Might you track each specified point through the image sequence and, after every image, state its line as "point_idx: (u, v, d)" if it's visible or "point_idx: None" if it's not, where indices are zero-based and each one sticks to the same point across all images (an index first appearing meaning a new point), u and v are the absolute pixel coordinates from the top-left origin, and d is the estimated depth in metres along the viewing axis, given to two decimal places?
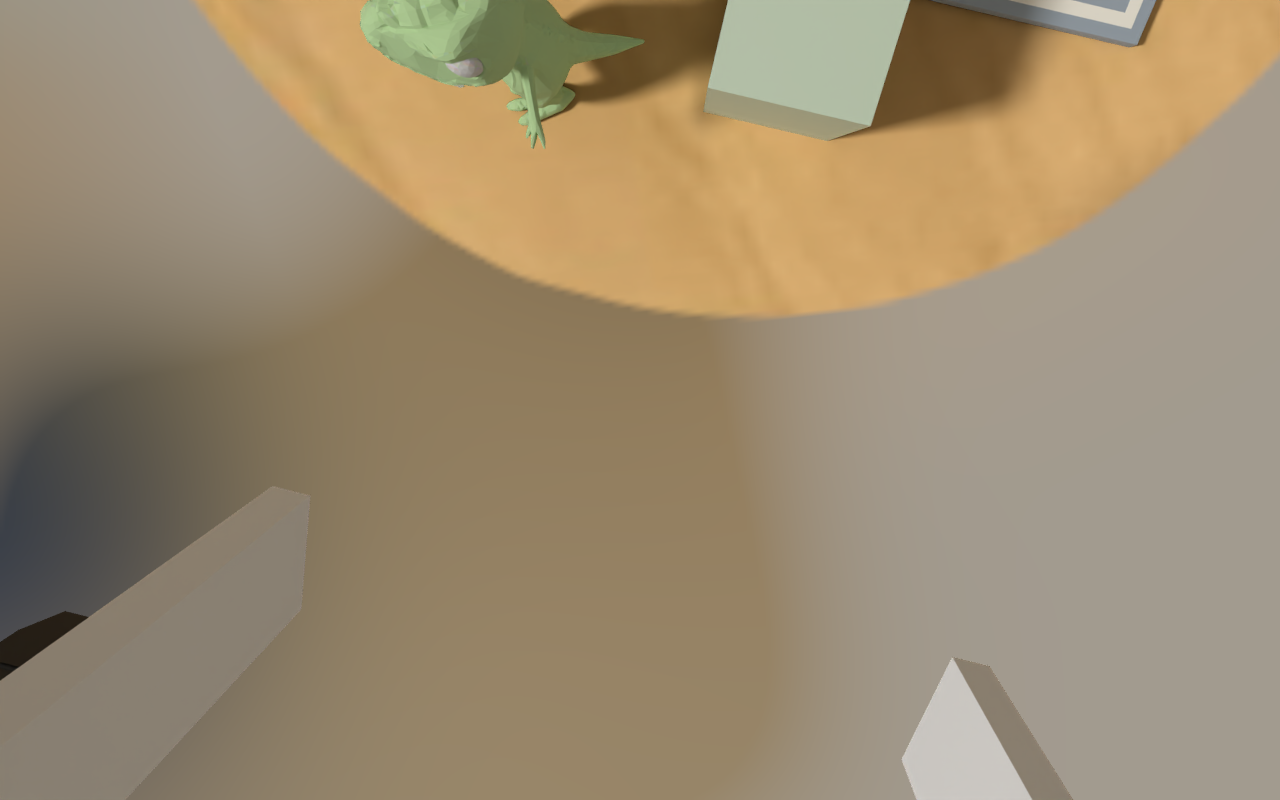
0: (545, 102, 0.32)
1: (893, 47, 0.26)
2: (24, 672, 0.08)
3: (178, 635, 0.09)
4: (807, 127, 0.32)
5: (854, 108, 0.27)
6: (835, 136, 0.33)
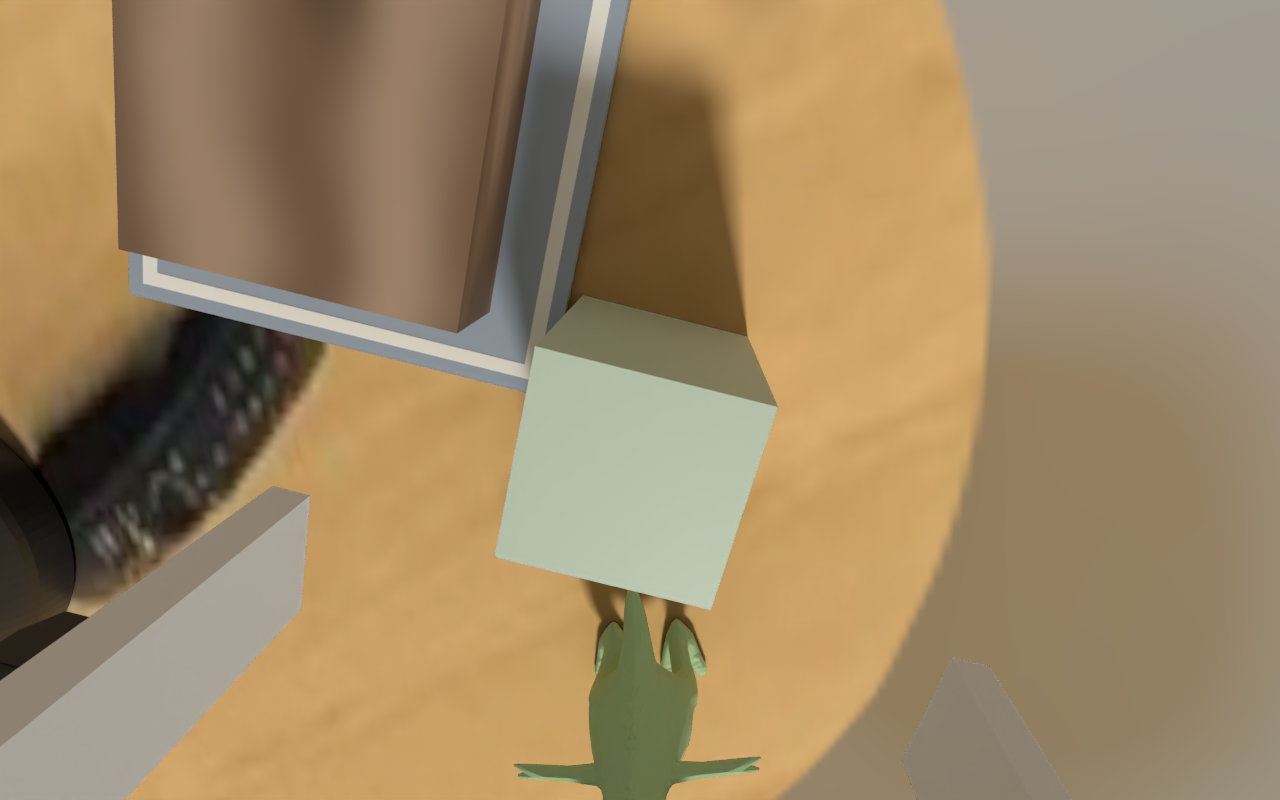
0: (695, 695, 0.27)
1: (674, 382, 0.18)
2: (24, 672, 0.08)
3: (178, 634, 0.09)
4: None
5: (751, 430, 0.18)
6: None
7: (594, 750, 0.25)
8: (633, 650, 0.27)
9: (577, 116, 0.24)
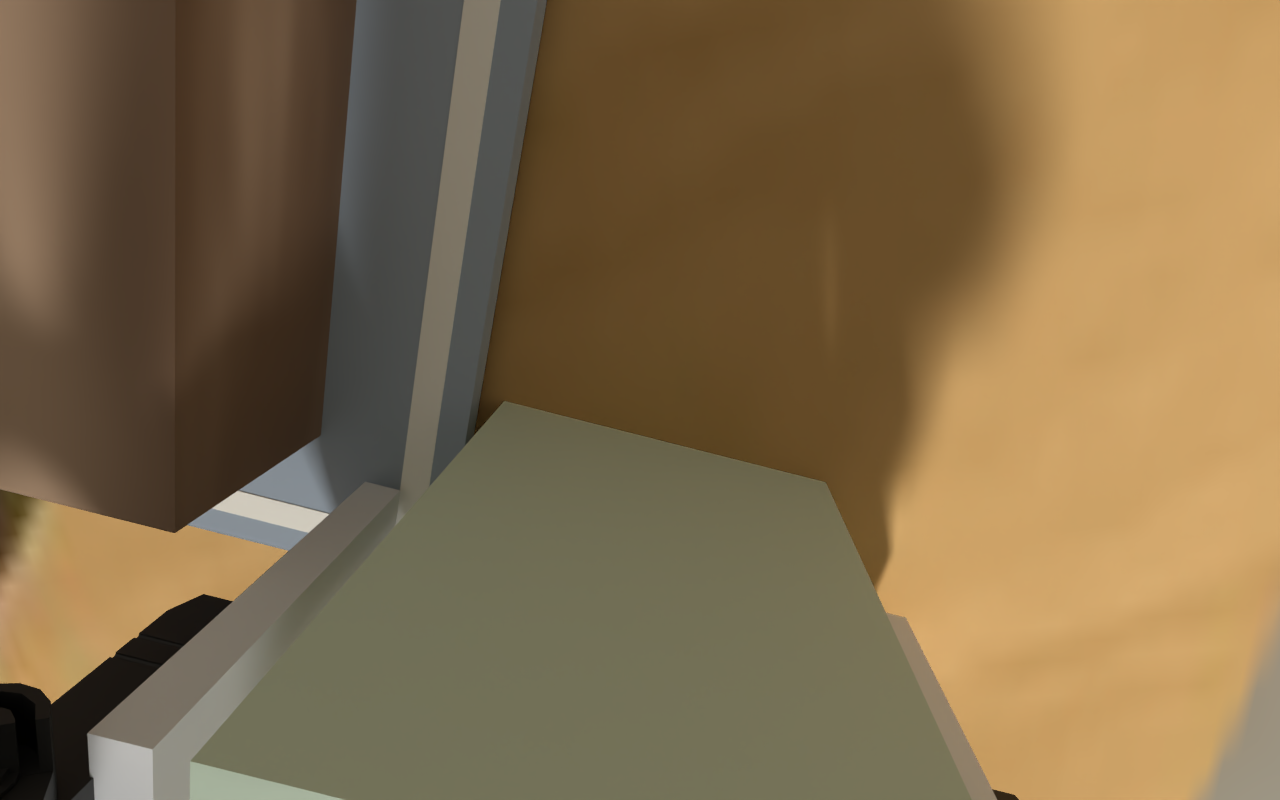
0: None
1: None
2: (194, 645, 0.09)
3: (306, 615, 0.10)
4: None
5: None
6: None
7: None
8: None
9: (472, 36, 0.11)
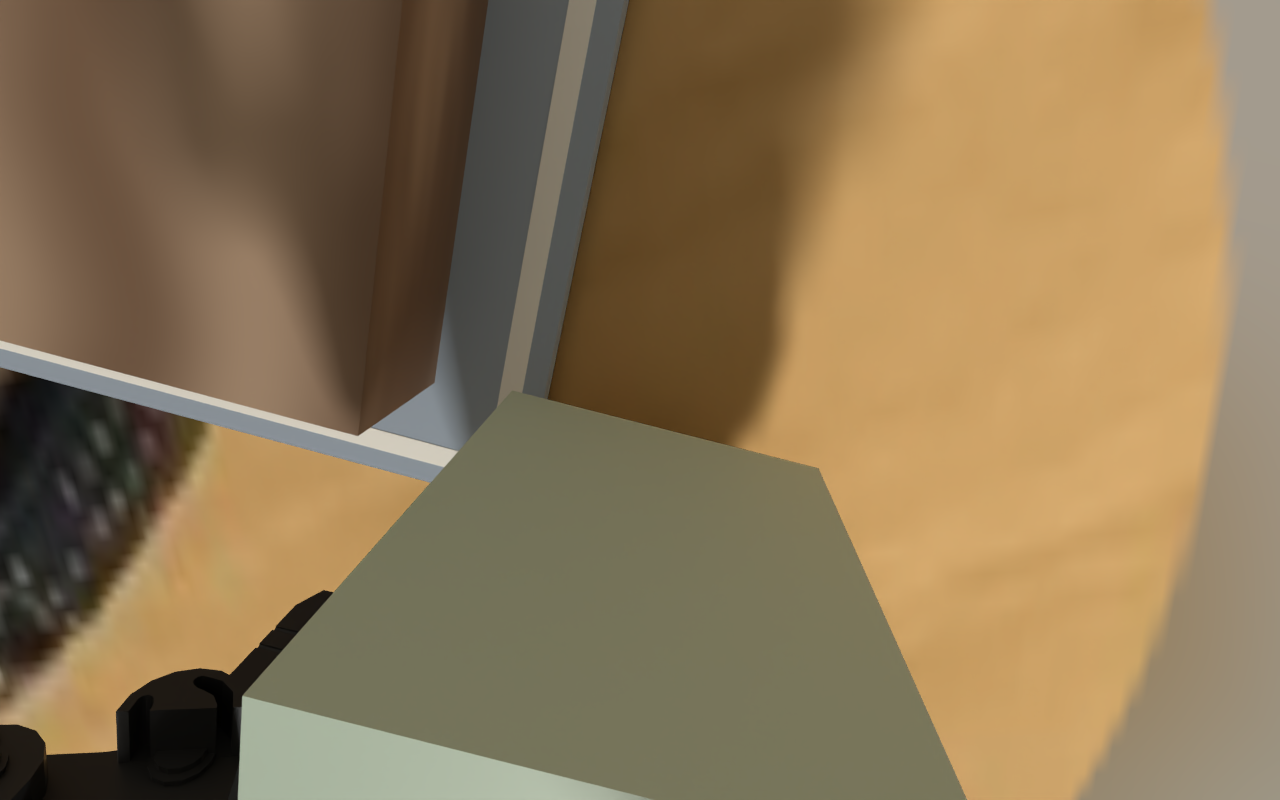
0: None
1: None
2: None
3: None
4: None
5: None
6: None
7: None
8: None
9: (564, 82, 0.15)
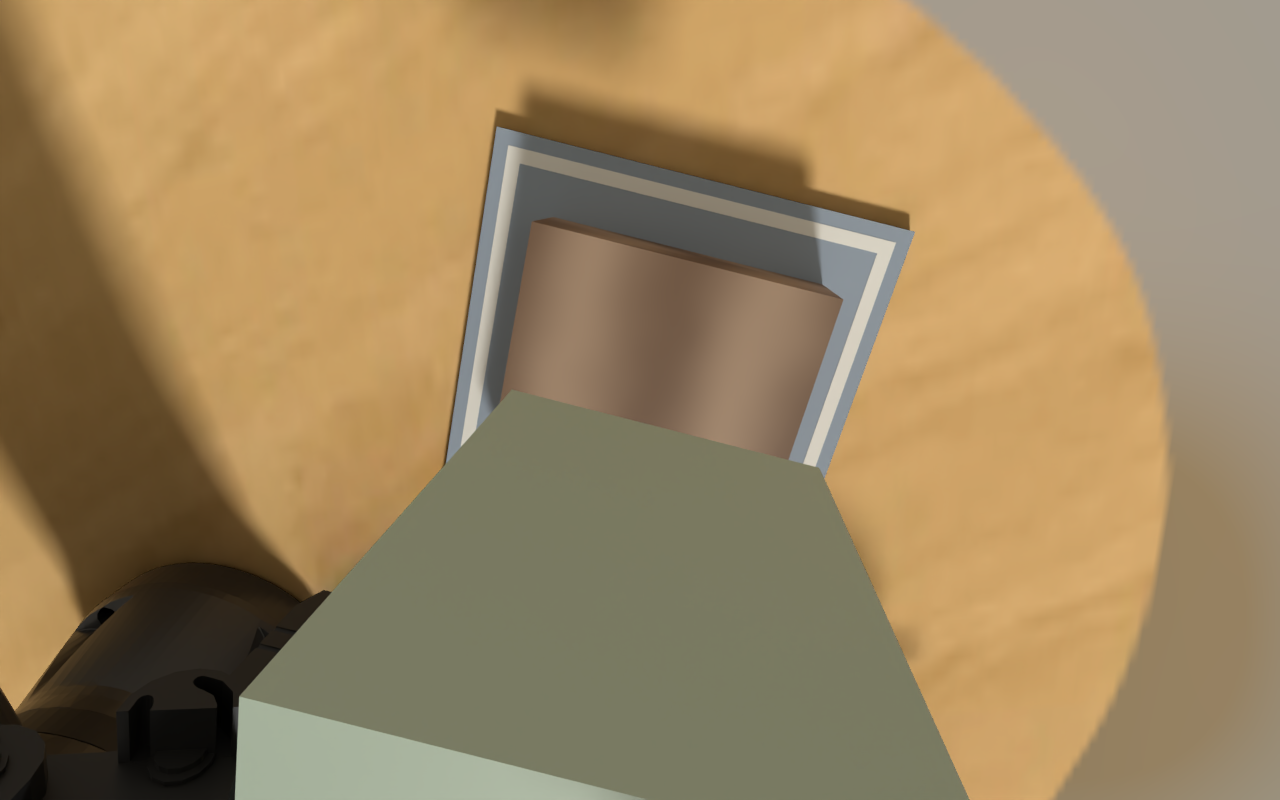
0: None
1: None
2: None
3: None
4: None
5: None
6: None
7: None
8: None
9: (837, 381, 0.29)
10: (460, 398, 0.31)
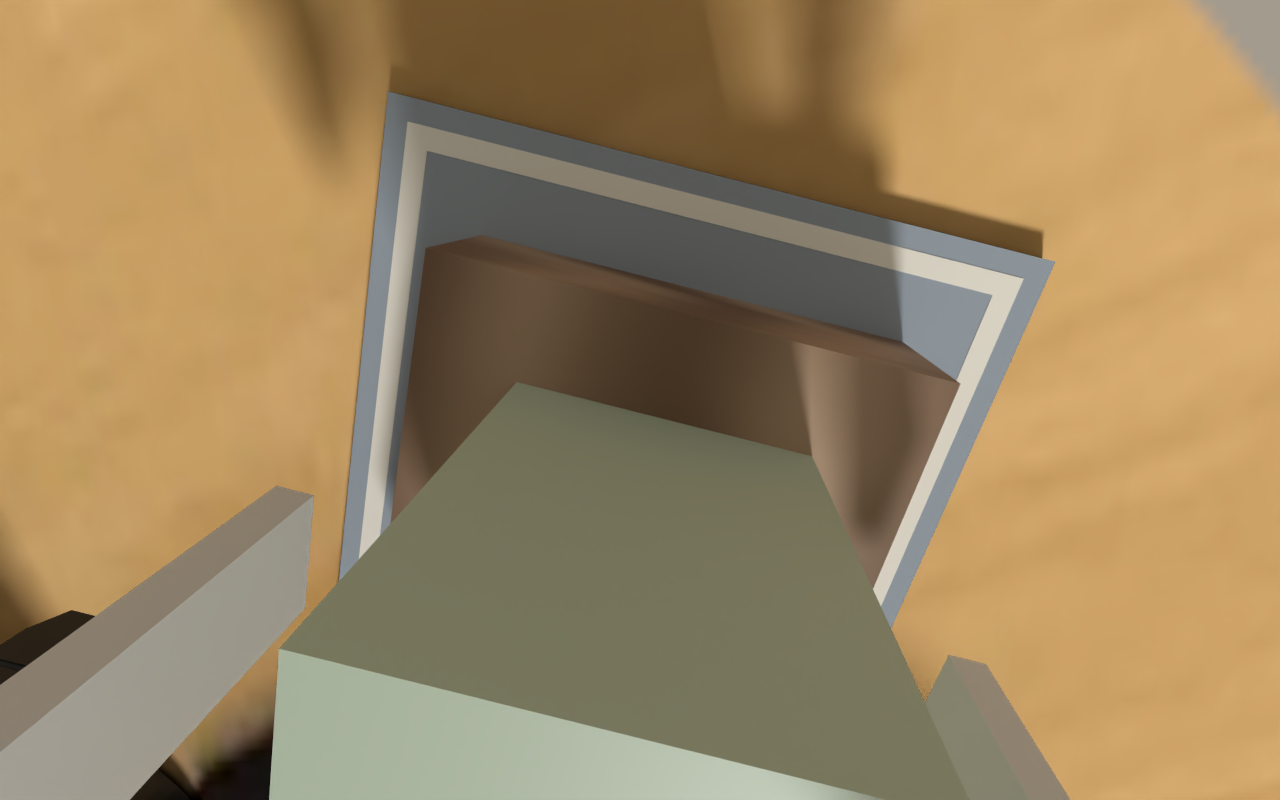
0: None
1: (680, 750, 0.06)
2: (32, 671, 0.08)
3: (184, 634, 0.09)
4: None
5: None
6: None
7: None
8: None
9: (919, 485, 0.19)
10: (353, 502, 0.21)
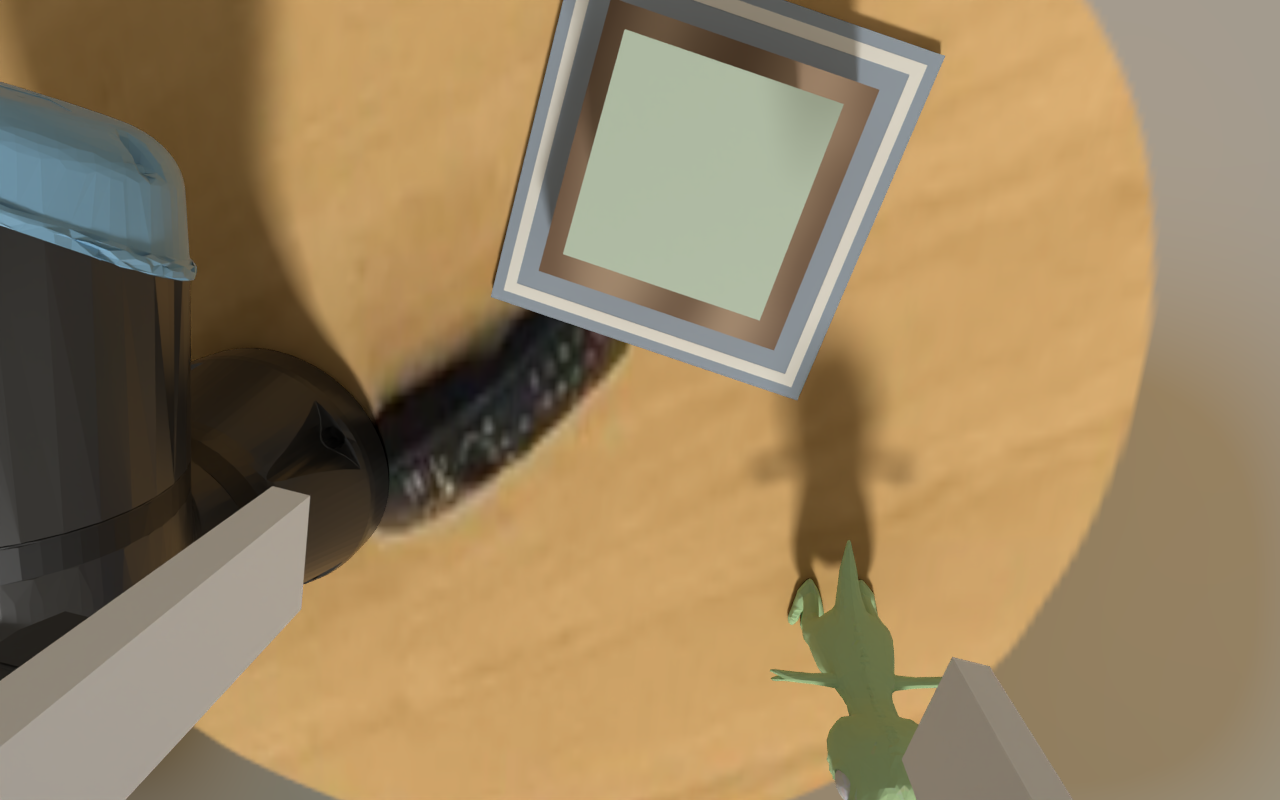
0: None
1: (749, 74, 0.19)
2: (24, 672, 0.08)
3: (178, 635, 0.09)
4: None
5: (816, 128, 0.20)
6: None
7: (829, 664, 0.33)
8: (850, 596, 0.35)
9: (863, 198, 0.32)
10: (520, 195, 0.34)
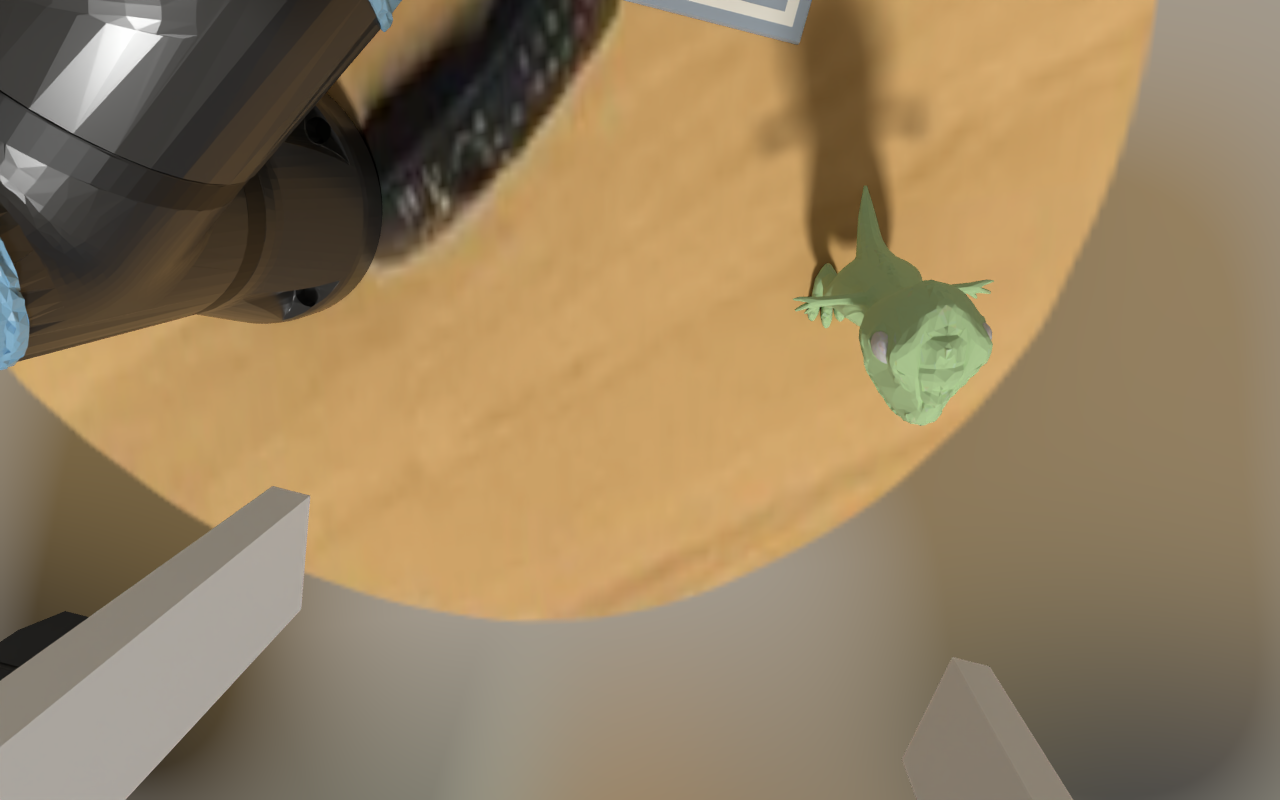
0: None
1: None
2: (24, 672, 0.08)
3: (177, 635, 0.09)
4: None
5: None
6: None
7: (855, 289, 0.32)
8: (871, 237, 0.33)
9: None
10: None
